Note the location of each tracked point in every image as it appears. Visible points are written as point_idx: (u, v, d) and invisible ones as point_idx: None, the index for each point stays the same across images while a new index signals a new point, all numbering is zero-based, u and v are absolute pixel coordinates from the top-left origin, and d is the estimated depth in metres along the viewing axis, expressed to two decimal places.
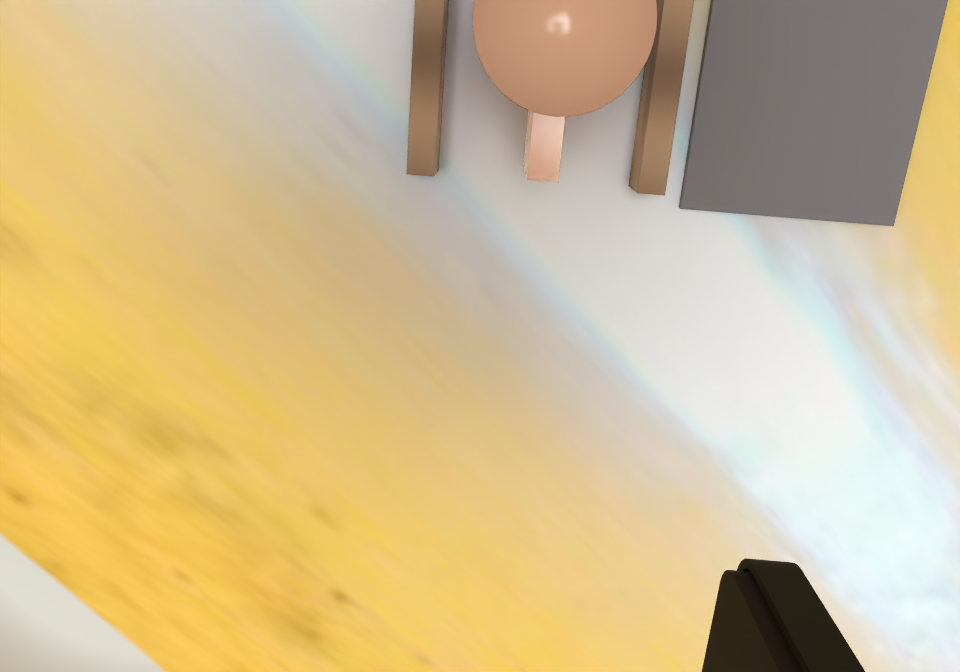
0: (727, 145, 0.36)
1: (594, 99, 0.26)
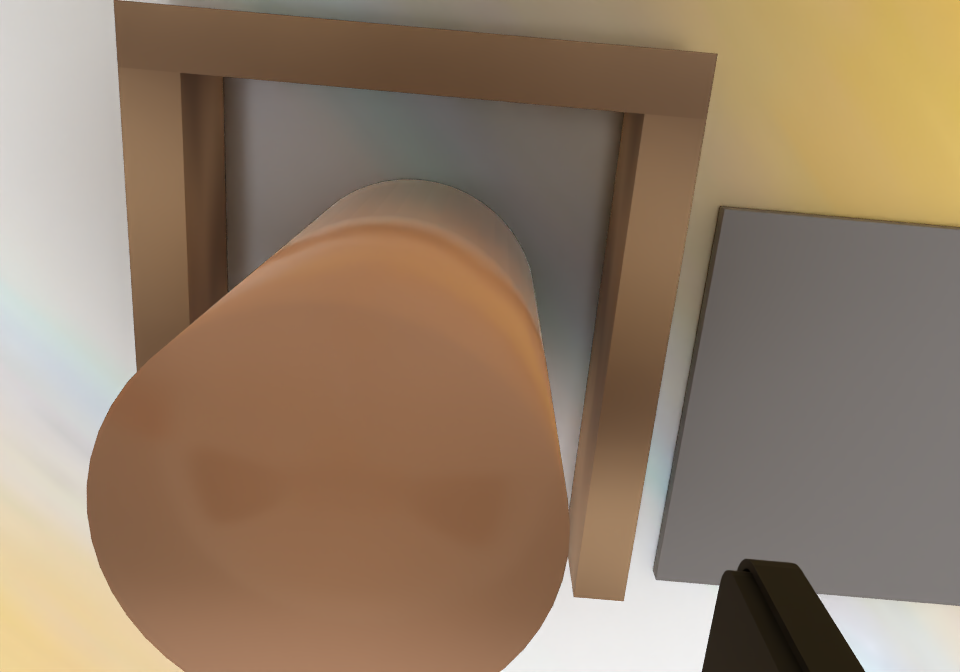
0: (739, 485, 0.20)
1: None
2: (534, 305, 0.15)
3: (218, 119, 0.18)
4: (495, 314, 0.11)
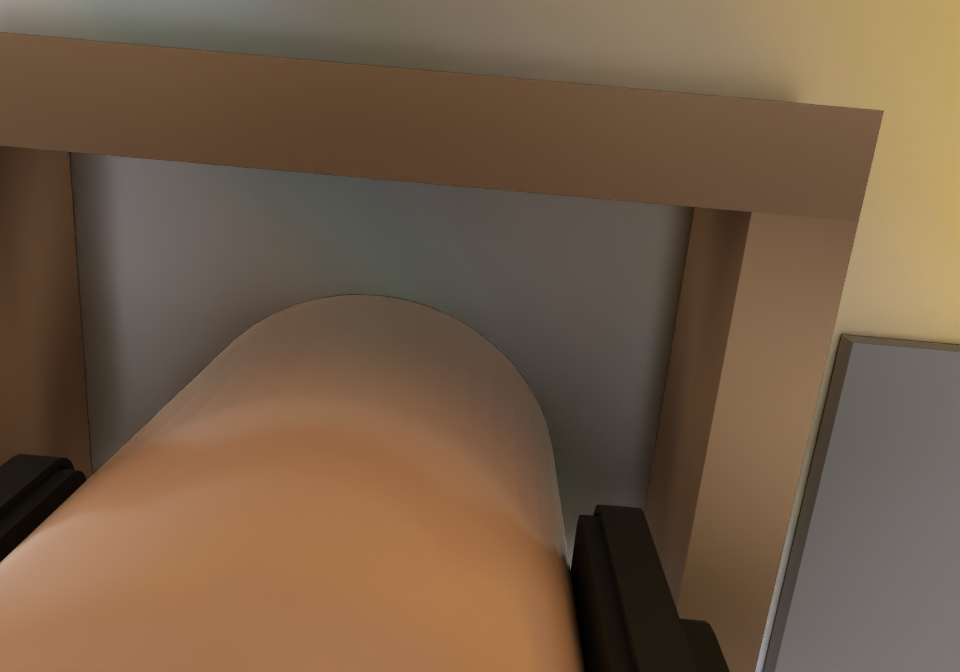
0: None
1: None
2: (560, 541, 0.09)
3: (59, 204, 0.11)
4: None
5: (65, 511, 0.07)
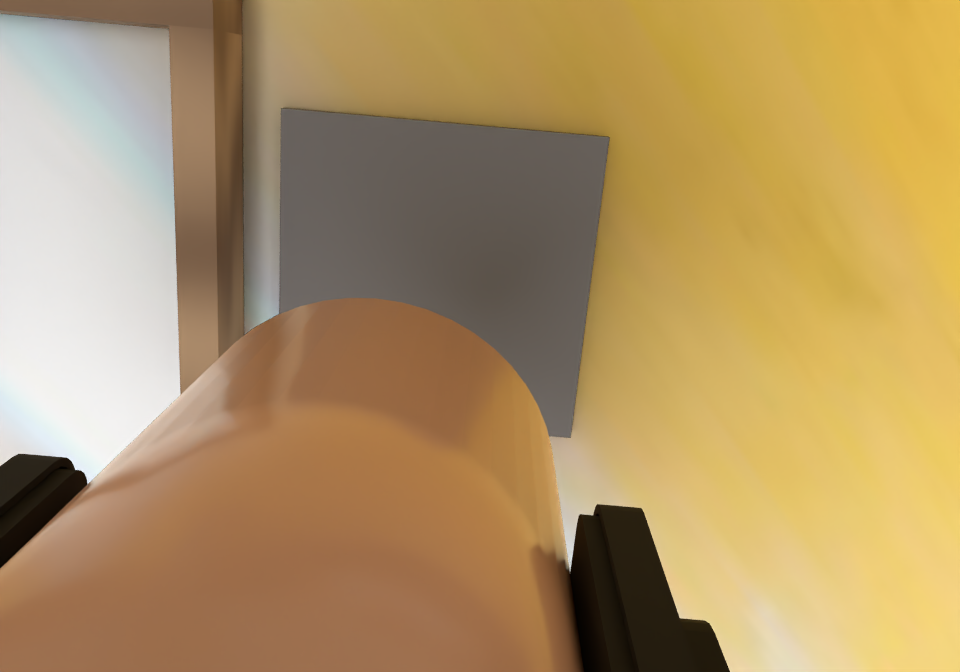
0: None
1: None
2: (560, 546, 0.09)
3: None
4: None
5: (65, 517, 0.07)
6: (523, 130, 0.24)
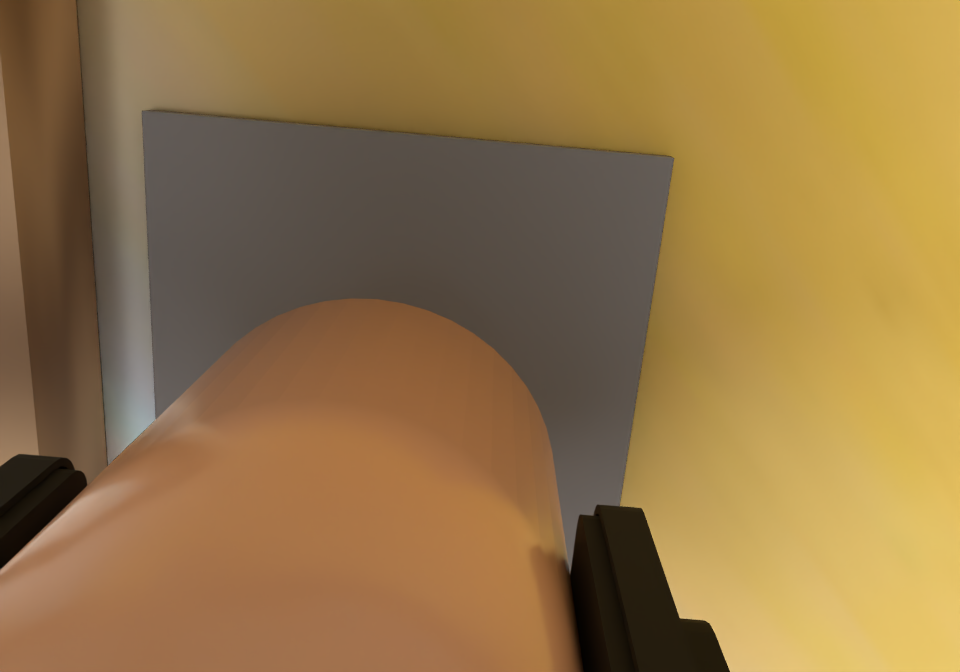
0: None
1: None
2: (560, 546, 0.09)
3: None
4: None
5: (65, 518, 0.07)
6: (534, 146, 0.15)
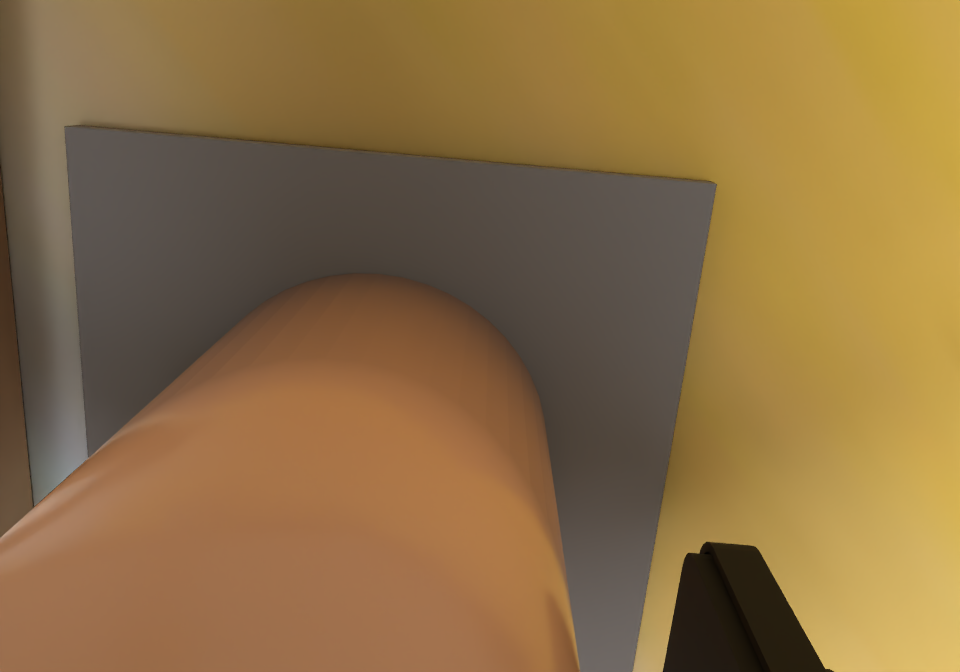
0: None
1: None
2: (549, 494, 0.10)
3: None
4: (483, 649, 0.05)
5: (102, 452, 0.07)
6: (545, 170, 0.12)
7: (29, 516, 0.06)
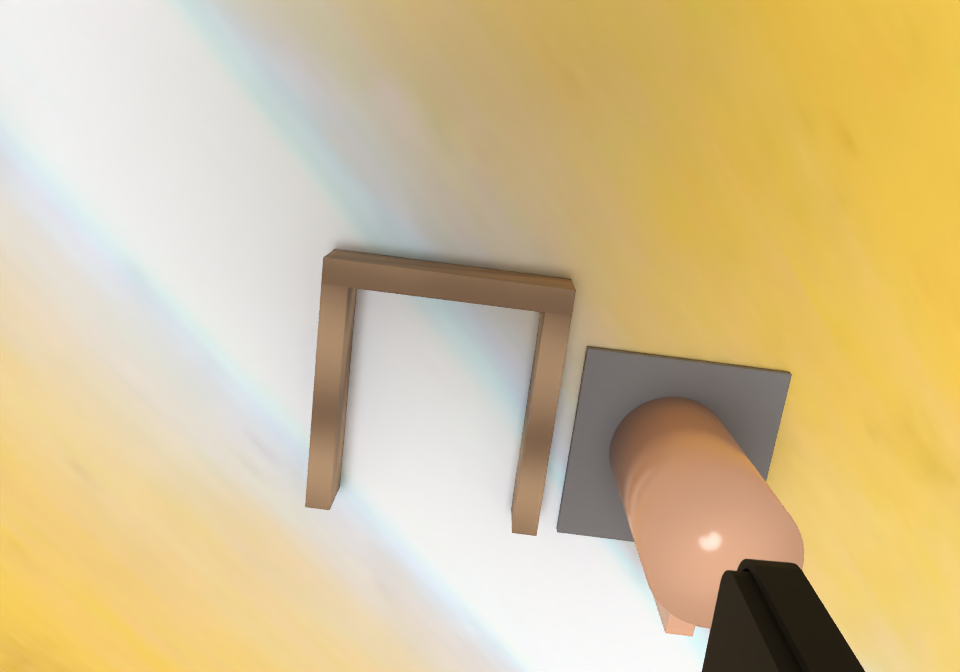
0: (598, 482, 0.40)
1: None
2: None
3: (354, 298, 0.38)
4: (767, 485, 0.32)
5: (667, 450, 0.34)
6: (737, 367, 0.39)
7: (669, 461, 0.33)
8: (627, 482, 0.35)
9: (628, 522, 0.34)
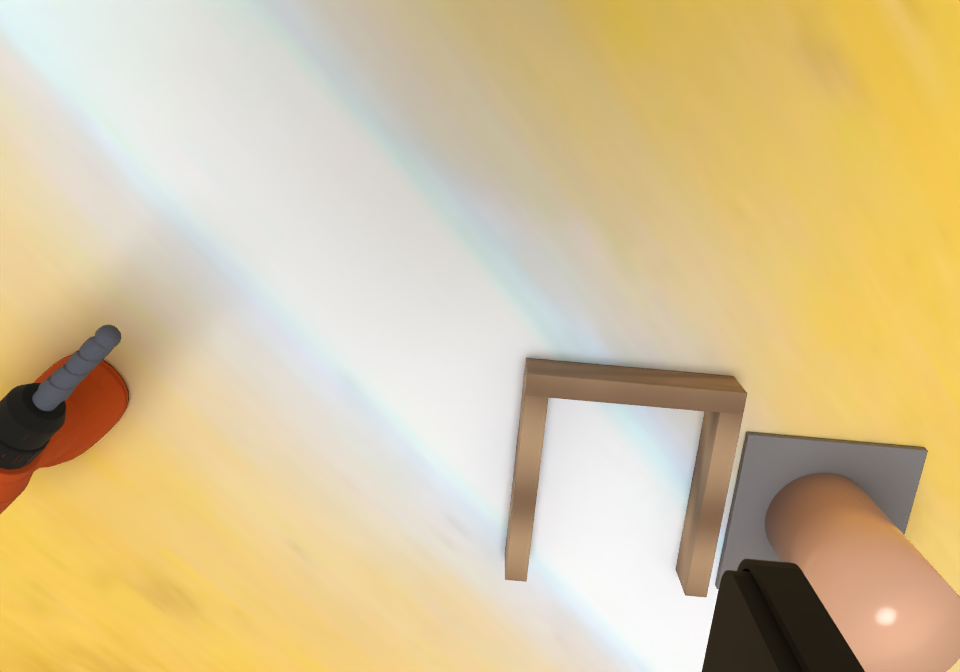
0: (754, 546, 0.46)
1: None
2: None
3: None
4: (931, 565, 0.37)
5: (837, 533, 0.39)
6: (880, 446, 0.44)
7: (843, 545, 0.38)
8: (799, 558, 0.40)
9: None
